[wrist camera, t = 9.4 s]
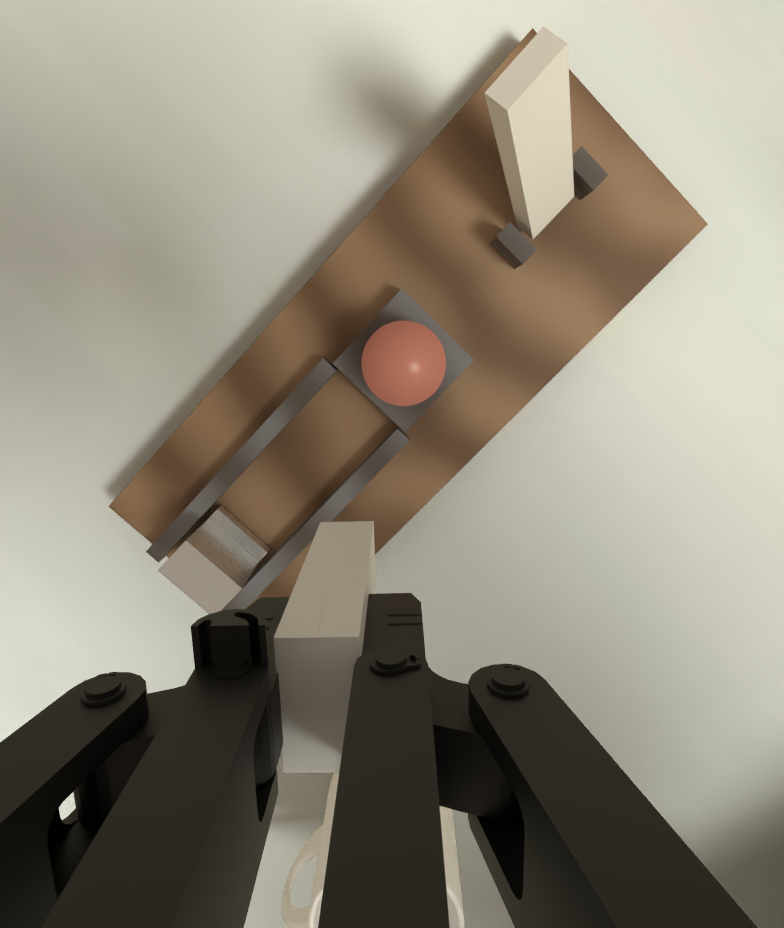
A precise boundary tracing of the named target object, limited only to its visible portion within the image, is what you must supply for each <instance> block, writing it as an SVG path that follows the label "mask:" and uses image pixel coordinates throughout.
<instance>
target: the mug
mask: <svg viewBox="0 0 784 928" xmlns="http://www.w3.org/2000/svg"><path fill="white" fill-rule="evenodd" d="M338 778H339V772H334V774H333V777H332V780H331V783H330V787H329V792H328V798H327V804H326V810H325V816H324V823H323V825H322V826H321V827H320V828H318V829H317V830H316V831H315V832H314V833H313V834H312V835H311V837H310V838H309V839H308V840H307V841H306V843H305V844H304V845H303V847H302V848H301V850H300V852H299V853H298V855H297V857H296V859H295V861H294V863H293V865H292V867H291V870H290V872H289V875H288V878H287V881H286V884H285V888H284V892H283V897H282V907H281V909H282V916H283V919H284V921H285V923H286V925H287V926H288V927H289V928H318V924H319V917H320V909H321V902H322V895H323V887H324V880H325V873H326V866H327V858H328V851H329V844H330V836H331V829H332V822H333V815H334V807H335V800H336V793H337V785H338ZM440 818H441V830H442V842H443V854H444V866H445V878H446V890H447V902H448V914H449V926H450V928H464V913H463V903H462V894H461V885H460V875H459V866H458V857H457V847H456V838H455V829H454V819H453V810H452V809H450V808H446V807H442V806H440ZM317 855H318V860H317V867H316V873H315V879H314V885H313V892H312V898H311V904H310V906H308V907H305V908H302V909H296V908H294V907H293V906H292V904H291V901H290V891H291V886H292V884H293V881H294V879H295V877H296V875H297V874H298V872H299V871H300V870H301V868H302V867H303V866H304V865H305V864H306V863H307V862H308V861H309V860H311V859H312V858H313V857H315V856H317Z"/></svg>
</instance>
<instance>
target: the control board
mask: <svg viewBox="0 0 784 928" xmlns="http://www.w3.org/2000/svg"><path fill="white" fill-rule="evenodd" d="M536 34H537V33H536V32H535V30H534V29H533V28H532V30H531V31H530V32H529V33H528V34H527V35H526V36H525V37H524V39H523V40H522V41H521V42H520V43H519V44H518V45H517V46H516V48H515V49H514V50H513V51H512V52H511V53H510V54H509V55H508V57H507V58H506V59H505V60H504V61H503V62H502V63H501V65H500V66H499V67H498V68H497V69H496V70H495V71H494V72H493V74H492V75H491V76H490V77H489V78H488V79H487V80H486V81H485V83H484V84H483V85H482V86H481V87H480V88H479V89H478V90H477V92H476V93H475V94H474V95H473V96H472V97H471V98H470V99H469V101H468V102H467V103H466V104H465V105H464V106H463V107H462V108H461V110H460V111H459V112H458V113H457V114H456V115H455V116H454V118H453V119H452V120H451V121H450V122H449V123H448V124H447V125H446V127H445V128H444V129H443V130H442V131H441V132H440V133H439V134H438V136H437V137H436V138H435V139H434V140H433V141H432V142H431V143H430V145H429V146H428V147H427V148H426V149H425V150H424V151H423V152H422V154H421V155H420V156H419V157H418V158H417V159H416V160H415V161H414V163H413V164H412V165H411V166H410V167H409V168H408V169H407V171H406V172H405V173H404V174H403V175H402V176H401V177H400V178H399V180H398V181H397V182H396V183H395V184H394V185H393V186H392V187H391V189H390V190H389V191H388V192H387V193H386V194H385V195H384V196H383V198H382V199H381V200H380V201H379V202H378V203H377V204H376V205H375V207H374V208H373V209H372V210H371V211H370V212H369V213H368V214H367V216H366V217H365V218H364V219H363V220H362V221H361V222H360V224H359V225H358V226H357V227H356V228H355V229H354V230H353V231H352V233H351V234H350V235H349V236H348V237H347V238H346V239H345V240H344V242H343V243H342V244H341V245H340V246H339V247H338V248H337V249H336V251H335V252H334V253H333V254H332V255H331V256H330V257H329V258H328V260H327V261H326V262H325V263H324V264H323V265H322V266H321V267H320V269H319V270H318V271H317V272H316V273H315V274H314V275H313V277H312V278H311V279H310V280H309V281H308V282H307V283H306V284H305V286H304V287H303V288H302V289H301V290H300V291H299V292H298V293H297V295H296V296H295V297H294V298H293V299H292V300H291V301H290V302H289V304H288V305H287V306H286V307H285V308H284V309H283V310H282V311H281V313H280V314H279V315H278V316H277V317H276V318H275V319H274V320H273V322H272V323H271V324H270V325H269V326H268V327H267V328H266V330H265V331H264V332H263V333H262V334H261V335H260V336H259V337H258V339H257V340H256V341H255V342H254V343H253V344H252V345H251V346H250V348H249V349H248V350H247V351H246V352H245V353H244V354H243V355H242V357H241V358H240V359H239V360H238V361H237V362H236V363H235V364H234V366H233V367H232V368H231V369H230V370H229V371H228V372H227V374H226V375H225V376H224V377H223V378H222V379H221V380H220V381H219V383H218V384H217V385H216V386H215V387H214V388H213V389H212V390H211V392H210V393H209V394H208V395H207V396H206V397H205V398H204V399H203V401H202V402H201V403H200V404H199V405H198V406H197V407H196V408H195V410H194V411H193V412H192V413H191V414H190V415H189V416H188V417H187V419H186V420H185V421H184V422H183V423H182V424H181V425H180V427H179V428H178V429H177V430H176V431H175V432H174V433H173V434H172V436H171V437H170V438H169V439H168V440H167V441H166V442H165V443H164V445H163V446H162V447H161V448H160V449H159V450H158V451H157V452H156V454H155V455H154V456H153V457H152V458H151V459H150V460H149V461H148V463H147V464H146V465H145V466H144V467H143V468H142V469H141V470H140V472H139V473H138V474H137V475H136V476H135V477H134V478H133V480H132V481H131V482H130V483H129V484H128V485H127V486H126V487H125V489H124V490H123V491H122V492H121V493H120V494H119V495H118V496H117V498H116V499H115V500H114V501H113V502H112V503H111V504H110V505H109V507H110V508H111V509H112V510H113V511H114V512H116V513H117V514H118V515H119V516H120V517H122V518H123V519H124V520H125V521H126V522H127V523H129V524H130V525H131V526H132V527H133V528H134V529H136V530H137V531H138V532H139V533H140V534H142V535H143V536H144V537H145V538H146V539H147V540H149V541H150V542H151V543H152V545H151V547H150V548H149V549H148V550H147V551H146V552H147V553H148V554H149V555H150V556H152V557H153V558H154V559H155V560H156V561H158V562H160V561H161V560H162V559H163V558H164V557H165V556H167V557H169V558H170V557H171V556H172V555H173V554H174V553H175V551H176V550H177V549H178V548H179V547H180V546H181V545H182V544H183V543H184V542H185V541H186V540H187V539H188V538H189V537H190V536H191V535H192V534H193V533H194V532H195V531H196V530H197V529H198V528H199V527H200V526H201V525H202V524H203V523H204V522H205V521H207V520H208V519H209V518H210V517H211V515H212V514H213V513H214V512H215V511H216V510H217V509H218V508H219V507H220V506H221V505H222V506H223V507H224V508H225V509H226V510H227V511H228V512H230V513H231V514H232V515H233V516H234V517H235V518H236V519H238V520H239V521H240V522H241V523H242V524H243V525H244V526H245V527H247V528H248V529H249V530H250V531H251V532H252V533H253V534H255V535H256V536H257V537H258V538H259V539H260V540H261V541H263V542H264V543H265V544H266V545H267V546H268V547H269V548H270V550H269V551H268V553H267V554H266V555H265V556H264V557H263V558H262V559H261V560H260V561H259V563H258V564H257V566H256V567H255V569H254V570H253V572H252V574H251V575H250V577H249V578H248V580H247V582H246V583H245V585H244V586H243V588H242V589H241V590H240V591H239V592H238V593H237V594H236V596H235V597H234V598H233V599H232V600H231V601H230V602H229V603H228V604H227V605H226V606H225V607H224V608H223V609H222V610H221V611H223V610H231V609H246V608H247V607H248V606H249V605H251V604H252V603H254V602H255V601H257V600H258V599H259V598H261V597H290V596H291V594H292V591H293V589H294V586H295V584H296V581H297V579H298V576H299V574H300V571H301V569H302V566H303V564H304V561H305V559H306V556H307V554H308V552H309V549H310V547H311V544H312V542H313V539H314V537H315V534H316V532H317V529H318V527H319V524H320V522H354V521H374V545H375V554H376V553H377V552H378V551H379V550H380V549H381V548H382V547H383V546H384V545H385V544H386V543H387V542H388V541H389V540H390V539H391V538H392V537H393V536H394V535H395V534H396V533H397V532H398V531H399V530H400V529H401V528H402V527H403V526H404V525H405V524H406V523H407V522H408V521H409V520H410V519H411V518H412V517H413V516H414V515H415V514H416V513H417V512H418V511H419V510H420V509H421V508H422V507H423V506H424V505H425V504H426V503H427V502H428V501H429V500H430V499H431V498H432V497H433V496H434V495H435V494H436V493H437V492H438V491H439V490H440V489H441V488H442V487H443V486H444V485H445V484H447V483H448V482H449V481H450V480H451V479H452V478H453V477H454V476H455V475H456V474H457V473H458V472H459V471H460V470H461V469H462V468H463V467H464V466H465V465H466V464H467V463H468V462H469V461H470V460H471V459H472V458H473V457H474V456H475V455H476V454H477V453H478V452H479V451H480V450H481V449H482V448H483V447H484V446H485V445H486V444H487V443H488V442H489V441H490V440H491V439H492V438H493V437H494V436H495V435H496V434H497V433H498V432H499V431H500V430H501V429H502V428H503V427H504V426H505V425H506V424H507V423H508V422H509V421H510V420H511V419H512V418H513V417H514V416H515V415H516V414H517V413H518V412H519V411H520V410H521V409H522V408H523V407H524V406H525V405H526V404H527V403H528V402H529V401H530V400H531V399H532V398H533V397H534V396H535V395H536V394H537V393H538V392H539V391H540V390H541V389H542V388H543V387H544V386H545V385H546V384H547V383H548V382H549V381H550V380H551V379H552V378H553V377H554V376H555V375H556V374H557V373H558V372H559V371H560V370H561V369H562V368H563V367H564V366H565V365H566V364H567V363H568V362H569V361H570V360H571V359H572V358H573V357H574V356H575V355H576V354H577V353H579V352H580V351H581V350H582V349H583V348H584V347H585V346H586V345H587V344H588V343H589V342H590V341H591V340H592V339H593V338H594V337H595V336H596V335H597V334H598V333H599V332H600V331H601V330H602V329H603V328H604V327H605V326H606V325H607V324H608V323H609V322H610V321H611V320H612V319H613V318H614V317H615V316H616V315H617V314H618V313H619V312H620V311H621V310H622V309H623V308H624V307H625V306H626V305H627V304H628V303H629V302H630V301H631V300H632V299H633V298H634V297H635V296H636V295H637V294H638V293H639V292H640V291H641V290H642V289H643V288H644V287H645V286H646V285H647V284H648V283H649V282H650V281H651V280H652V279H653V278H654V277H655V276H656V275H657V274H658V273H659V272H660V271H661V270H662V269H663V268H664V267H665V266H666V265H667V264H668V263H669V262H670V261H671V260H672V259H673V258H674V257H675V256H676V255H677V254H678V253H679V252H680V251H681V250H682V249H683V248H684V247H685V246H686V245H687V244H688V243H689V242H690V241H691V240H692V239H693V238H694V237H695V236H696V235H697V234H698V233H699V232H700V231H701V230H702V229H703V228H704V227H705V226H706V225H707V223H706V221H705V220H704V219H703V218H702V217H701V216H700V215H699V214H698V213H697V211H696V210H695V209H694V208H693V207H692V206H691V205H690V204H689V203H688V201H687V200H686V199H685V198H684V197H683V196H682V195H681V194H680V192H679V191H678V190H677V189H676V188H675V187H674V186H673V185H672V184H671V182H670V181H669V180H668V179H667V178H666V177H665V176H664V175H663V173H662V172H661V171H660V170H659V169H658V168H657V167H656V166H655V165H654V163H653V162H652V161H651V160H650V159H649V158H648V157H647V156H646V154H645V153H644V152H643V151H642V150H641V149H640V148H639V147H638V146H637V144H636V143H635V142H634V141H633V140H632V139H631V138H630V137H629V135H628V134H627V133H626V132H625V131H624V130H623V129H622V128H621V127H620V125H619V124H618V123H617V122H616V121H615V120H614V119H613V118H612V116H611V115H610V114H609V113H608V112H607V111H606V110H605V109H604V108H603V106H602V105H601V104H600V103H599V102H598V101H597V100H596V99H595V97H594V96H593V95H592V94H591V93H590V92H589V91H588V90H587V89H586V87H585V86H584V85H583V84H582V83H581V82H580V81H579V80H578V78H577V77H576V76H575V75H574V74H573V73H572V72H571V71H570V70H569V88H570V111H571V134H572V157H573V180H574V197H573V198H572V199H571V200H570V201H569V202H568V204H567V205H566V206H565V207H564V208H563V209H562V210H561V211H560V212H559V213H558V214H557V215H556V216H555V217H554V218H553V219H552V220H551V221H550V222H549V223H548V225H547V226H546V227H545V228H544V229H543V230H542V231H541V232H540V233H539V234H538V235H537V236H536V237H535V238H534V239H532V238H530V237H529V236H528V235H527V234H526V233H524V232H523V231H522V230H521V229H520V228H519V227H517V223H516V219H515V215H514V211H513V207H512V203H511V199H510V195H509V191H508V187H507V183H506V178H505V174H504V170H503V166H502V162H501V158H500V154H499V150H498V146H497V142H496V138H495V133H494V129H493V125H492V121H491V117H490V113H489V109H488V105H487V101H486V97H485V92H486V91H487V90H488V88H489V87H490V86H491V85H492V84H493V83H494V82H495V81H496V79H497V78H498V77H499V76H500V75H501V74H502V73H503V72H504V70H505V69H506V68H507V67H508V66H509V65H510V64H511V63H512V61H513V60H514V59H515V58H516V57H517V56H518V55H519V54H520V52H521V51H522V50H523V49H524V48H525V47H526V46H527V45H528V43H529V42H530V41H531V40H532V39H533V38H534V37H535V36H536ZM395 321H413V322H416V323H419V324H422V325H424V326H425V327H427V328H428V329H430V330H431V331H432V332H433V333H434V334H435V335H436V336H437V337H438V339H439V340H440V342H441V344H442V346H443V349H444V352H445V357H446V370H445V375H444V378H443V380H442V382H441V384H440V386H439V387H438V389H437V390H436V391H435V393H434V394H433V395H431V396H430V397H429V398H428V399H426V400H425V401H423V402H421V403H418V404H415V405H411V406H397V405H392V404H389V403H387V402H385V401H383V400H381V399H380V398H378V397H377V396H376V395H375V394H374V393H373V392H372V391H371V390H370V388H369V387H368V385H367V384H366V382H365V379H364V377H363V373H362V365H361V363H362V354H363V351H364V348H365V345H366V343H367V342H368V340H369V338H370V337H371V336H372V335H373V334H374V333H375V332H376V331H377V330H378V329H379V328H381V327H382V326H384V325H386V324H389V323H391V322H395Z"/></svg>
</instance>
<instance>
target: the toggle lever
mask: <svg viewBox="0 0 784 928" xmlns="http://www.w3.org/2000/svg"><path fill="white" fill-rule="evenodd" d="M485 97H486V101H487V105H488V109H489V113H490V117H491V121H492V125H493V129H494V133H495V138H496V142H497V146H498V150H499V154H500V158H501V162H502V166H503V170H504V174H505V178H506V183H507V187H508V191H509V195H510V199H511V203H512V207H513V211H514V215H515V219H516V223H517V227H519V228H520V229H521V230H522V231H523V232H524V233H526V234H527V235H528V236H529V237H530V238H532V239H534V238H535V237H536V236H537V235H538V234H539V233H540V232H541V231H542V230H543V229H544V228H545V227H546V226H547V225H548V223H549V222H550V221H551V220H552V219H553V218H554V217H555V216H556V215H557V214H558V213H559V212H560V211H561V210H562V209H563V208H564V207H565V206H566V205H567V204H568V202H569V201H570V200H571V199H572V198H573V197H574V180H573V157H572V134H571V111H570V88H569V65H568V44H567V43H566V42H564V41H563V40H562V39H560V38H559V37H557V36H556V35H555V34H553V33H552V32H550V31H549V30H547V29H546V28H545V27H543V28H542V29H541V30H540V31H539V32H538V33H537V34H536V36H535V37H534V38H533V39H532V40H531V41H530V42H529V43H528V45H527V46H526V47H525V48H524V49H523V50H522V51H521V52H520V54H519V55H518V56H517V57H516V58H515V59H514V60H513V61H512V63H511V64H510V65H509V66H508V67H507V68H506V69H505V70H504V72H503V73H502V74H501V75H500V76H499V77H498V78H497V79H496V81H495V82H494V83H493V84H492V85H491V86H490V87H489V88H488V90H487V91H486V92H485Z"/></svg>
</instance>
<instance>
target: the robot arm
mask: <svg viewBox="0 0 784 928" xmlns="http://www.w3.org/2000/svg"><path fill="white" fill-rule="evenodd" d="M191 633H192V642H193V652H194V662H195V670H194V671H193V673H192V675H191V676H190V678H189V680H188V681H187V683H186V685H184V686H181V687H177V688H174V689H169V690H164V691H159V692H154V693H149V694H147V689H146V681H145V680H144V679H143V678H142V677H141V676H140V675H136V674H133V673H130V672H111V673H109V674H107V673H105V674H101V675H98V676H96V677H94V678H91V679H89V680H86V681H84V682H82V683H80V684H79V685H77V686H75V687H73V688H72V689H70V690H69V691H68V692H66V693H65V694H64V695H62V696H61V697H60V698H58V699H57V700H56V701H55V702H53V703H52V704H51V705H49V706H48V707H47V708H45V709H44V710H43V711H41V712H40V713H39V714H37V715H36V716H35V717H33V718H32V719H31V720H29V721H28V722H27V723H26V724H24V725H23V726H22V727H20V728H19V729H18V730H16V731H15V732H14V733H12V734H11V735H10V736H8V737H7V738H6V739H4V740H3V741H2V742H0V928H244V924H245V920H246V916H247V912H248V908H249V904H250V900H251V896H252V893H253V889H254V885H255V881H256V877H257V873H258V869H259V865H260V861H261V857H262V853H263V850H264V846H265V842H266V838H267V834H268V830H269V826H270V822H271V818H272V814H273V811H274V807H275V803H276V799H277V795H278V781H277V768H276V767H277V764H278V760H279V757H280V753H281V751H282V765H283V773H333V772H339V778H338V785H337V793H336V800H335V807H334V815H333V822H332V829H331V836H330V844H329V851H328V858H327V866H326V873H325V880H324V887H323V895H322V902H321V909H320V917H319V924H318V928H450V926H449V914H448V902H447V890H446V878H445V866H444V854H443V842H442V830H441V818H440V806H442V807H446V808H450V809H454V810H457V811H461V812H465V813H468V819H469V824H470V828H471V830H472V832H473V835H474V837H475V839H476V841H477V844H478V846H479V848H480V850H481V853H482V855H483V857H484V859H485V861H486V864H487V866H488V868H489V870H490V873H491V875H492V877H493V879H494V882H495V884H496V886H497V888H498V890H499V893H500V895H501V897H502V899H503V902H504V904H505V906H506V908H507V910H508V913H509V915H510V917H511V919H512V922H513V924H514V926H515V928H757V927H756V926H755V924H754V923H753V922H752V921H751V920H750V919H749V917H748V916H747V915H746V914H745V913H744V912H743V910H742V909H741V908H740V907H739V906H738V905H737V903H736V902H735V901H734V900H733V899H732V898H731V896H730V895H729V894H728V893H727V892H726V891H725V889H724V888H723V887H722V886H721V885H720V884H719V882H718V881H717V880H716V879H715V878H714V877H713V875H712V874H711V873H710V872H709V871H708V870H707V868H706V867H705V866H704V865H703V864H702V862H701V861H700V860H699V859H698V858H697V857H696V855H695V854H694V853H693V852H692V851H691V850H690V848H689V847H688V846H687V845H686V844H685V843H684V841H683V840H682V839H681V838H680V837H679V836H678V834H677V833H676V832H675V831H674V830H673V829H672V827H671V826H670V825H669V824H668V823H667V822H666V820H665V819H664V818H663V817H662V816H661V815H660V813H659V812H658V811H657V810H656V809H655V808H654V806H653V805H652V804H651V803H650V802H649V801H648V799H647V798H646V797H645V796H644V795H643V794H642V792H641V791H640V790H639V789H638V788H637V787H636V785H635V784H634V783H633V782H632V781H631V780H630V778H629V777H628V776H627V775H626V774H625V773H624V771H623V770H622V769H621V768H620V767H619V766H618V764H617V763H616V762H615V761H614V760H613V759H612V757H611V756H610V755H609V754H608V753H607V751H606V750H605V749H604V748H603V747H602V746H601V744H600V743H599V742H598V741H597V740H596V739H595V737H594V736H593V735H592V734H591V733H590V732H589V730H588V729H587V728H586V727H585V726H584V725H583V723H582V722H581V721H580V720H579V719H578V718H577V716H576V715H575V714H574V713H573V712H572V711H571V709H570V708H569V707H568V706H567V705H566V704H565V702H564V701H563V700H562V699H561V698H560V697H559V695H558V694H557V693H556V692H555V691H554V690H553V688H552V687H551V686H550V685H549V684H548V683H547V681H546V680H545V679H544V678H542V677H541V676H540V675H539V674H537V673H536V672H534V671H532V670H529V669H527V668H524V667H522V666H518V665H512V664H498V665H490V666H487V667H483V668H480V669H479V670H478V671H476V672H475V673H473V674H472V676H471V678H470V680H469V684H464V683H458V682H455V681H451V680H447V679H445V678H443V677H441V676H439V675H437V674H436V673H434V672H433V671H432V670H431V669H430V668H429V667H428V664H427V661H426V659H425V647H424V635H423V623H422V611H421V602H420V601H419V600H418V599H417V598H416V597H414V596H413V595H412V594H411V593H393V594H376V578H375V545H374V521H354V522H320V524H319V527H318V529H317V532H316V534H315V537H314V539H313V542H312V544H311V547H310V549H309V552H308V554H307V556H306V559H305V561H304V564H303V566H302V569H301V571H300V574H299V576H298V579H297V581H296V584H295V586H294V589H293V591H292V594H291V596H290V597H261V598H259V599H258V600H257V601H255V602H254V603H252V604H251V605H249V606H248V607H247V608H246V609H231V610H223V611H219V612H215V613H211V614H209V615H207V616H204V617H202V618H200V619H198V620H197V621H196V622H195V623H194V624H193V625H192V626H191ZM72 792H74V798H75V804H76V809H75V810H74V811H73V812H72V813H71V814H70V815H69V816H68V817H66V818H65V819H64V820H61V818H60V814H59V806H60V805H61V804H62V802H63V801H64V800H65V799H66V798H67V797H68V796H69V795H70V794H71V793H72Z"/></svg>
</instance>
